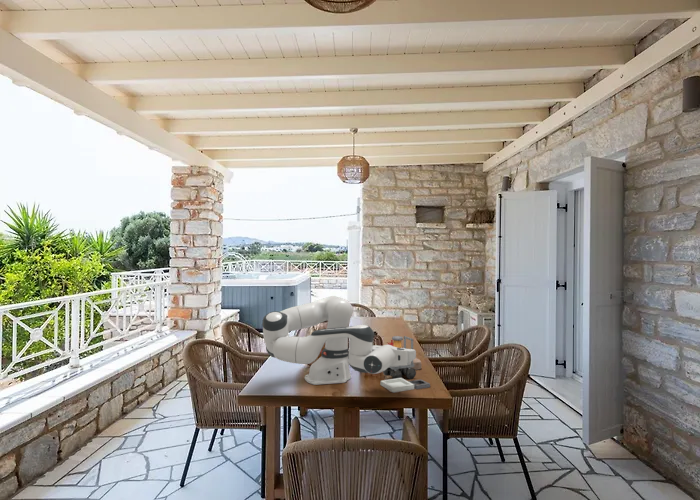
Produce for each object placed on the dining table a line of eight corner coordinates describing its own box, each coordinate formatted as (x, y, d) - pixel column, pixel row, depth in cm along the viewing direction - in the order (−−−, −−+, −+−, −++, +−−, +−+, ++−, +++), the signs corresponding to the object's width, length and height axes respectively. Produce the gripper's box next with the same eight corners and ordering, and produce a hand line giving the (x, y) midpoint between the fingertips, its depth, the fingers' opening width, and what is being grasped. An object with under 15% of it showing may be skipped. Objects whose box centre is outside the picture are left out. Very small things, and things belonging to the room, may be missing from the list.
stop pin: (394, 365, 176) (394, 338, 176) (390, 362, 181) (390, 336, 181) (404, 364, 177) (404, 337, 178) (400, 362, 182) (400, 335, 182)
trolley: (392, 381, 186) (392, 341, 187) (383, 376, 195) (383, 337, 195) (416, 378, 192) (415, 339, 192) (406, 373, 200) (405, 335, 200)
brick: (390, 370, 205) (390, 361, 205) (387, 366, 214) (387, 357, 214) (421, 370, 206) (421, 361, 206) (418, 366, 214) (418, 357, 214)
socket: (416, 389, 176) (416, 385, 176) (407, 384, 182) (407, 381, 182) (430, 387, 179) (430, 383, 179) (421, 382, 185) (421, 379, 185)
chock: (387, 382, 185) (387, 377, 185) (385, 381, 187) (385, 375, 187) (392, 382, 186) (392, 376, 186) (389, 380, 188) (389, 375, 188)
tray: (392, 392, 171) (392, 387, 171) (380, 385, 181) (380, 380, 182) (414, 389, 176) (414, 384, 176) (401, 382, 186) (401, 377, 186)
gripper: (364, 360, 172) (377, 353, 185) (409, 366, 163) (419, 358, 175) (364, 345, 172) (377, 339, 185) (409, 350, 163) (419, 344, 175)
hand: (398, 348), depth 180 cm, fingers closed on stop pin, 4 cm apart
